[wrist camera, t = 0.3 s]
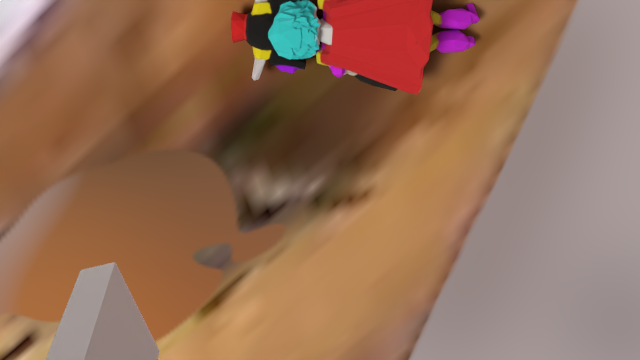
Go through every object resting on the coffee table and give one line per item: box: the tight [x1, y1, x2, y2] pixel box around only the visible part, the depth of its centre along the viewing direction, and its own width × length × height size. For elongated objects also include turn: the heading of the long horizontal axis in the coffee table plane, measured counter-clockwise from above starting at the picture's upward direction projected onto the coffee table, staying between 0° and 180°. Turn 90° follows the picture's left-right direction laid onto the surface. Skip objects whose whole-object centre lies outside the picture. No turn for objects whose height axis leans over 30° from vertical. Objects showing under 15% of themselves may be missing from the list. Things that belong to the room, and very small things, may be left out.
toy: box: [231, 0, 479, 94], centre depth 36 cm, size 8×4×15 cm
